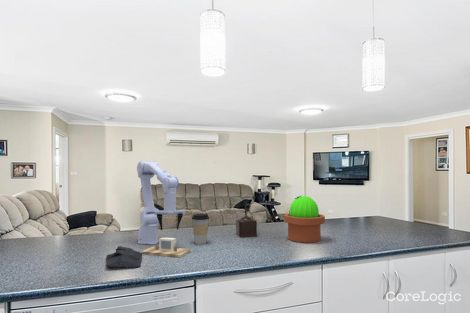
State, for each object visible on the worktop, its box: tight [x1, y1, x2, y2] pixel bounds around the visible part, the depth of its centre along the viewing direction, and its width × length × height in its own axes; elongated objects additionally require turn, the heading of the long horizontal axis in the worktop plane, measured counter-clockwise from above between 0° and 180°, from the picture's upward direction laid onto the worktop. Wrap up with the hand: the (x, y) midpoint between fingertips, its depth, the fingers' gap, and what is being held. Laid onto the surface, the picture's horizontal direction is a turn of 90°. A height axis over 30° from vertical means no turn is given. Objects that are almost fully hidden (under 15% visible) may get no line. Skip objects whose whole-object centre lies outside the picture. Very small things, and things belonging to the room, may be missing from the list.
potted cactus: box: [283, 195, 326, 244], centre depth 164 cm, size 22×22×25 cm
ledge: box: [141, 242, 191, 258], centre depth 137 cm, size 20×10×4 cm, turn 74°
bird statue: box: [235, 203, 258, 239], centre depth 177 cm, size 16×11×18 cm
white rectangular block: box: [158, 236, 177, 252], centre depth 137 cm, size 7×3×6 cm, turn 74°
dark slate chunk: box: [105, 245, 143, 270], centre depth 124 cm, size 15×22×5 cm
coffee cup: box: [191, 213, 210, 245], centre depth 156 cm, size 9×9×15 cm
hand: (169, 229), depth 143 cm, fingers open, 7 cm apart
